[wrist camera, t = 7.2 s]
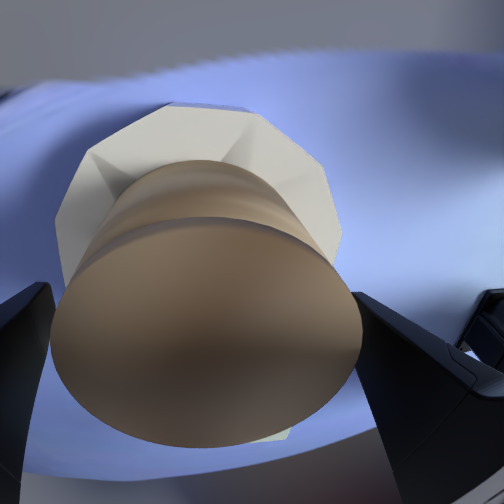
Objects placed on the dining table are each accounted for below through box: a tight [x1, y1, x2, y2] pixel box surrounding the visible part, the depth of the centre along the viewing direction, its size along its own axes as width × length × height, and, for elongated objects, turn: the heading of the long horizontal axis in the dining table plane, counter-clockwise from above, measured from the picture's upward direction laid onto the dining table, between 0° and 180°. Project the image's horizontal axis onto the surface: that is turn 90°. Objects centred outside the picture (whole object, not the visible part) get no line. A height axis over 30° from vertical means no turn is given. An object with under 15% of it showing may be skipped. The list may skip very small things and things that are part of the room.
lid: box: [50, 160, 363, 448], centre depth 9 cm, size 7×7×5 cm
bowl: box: [55, 102, 342, 288], centre depth 12 cm, size 10×10×3 cm
